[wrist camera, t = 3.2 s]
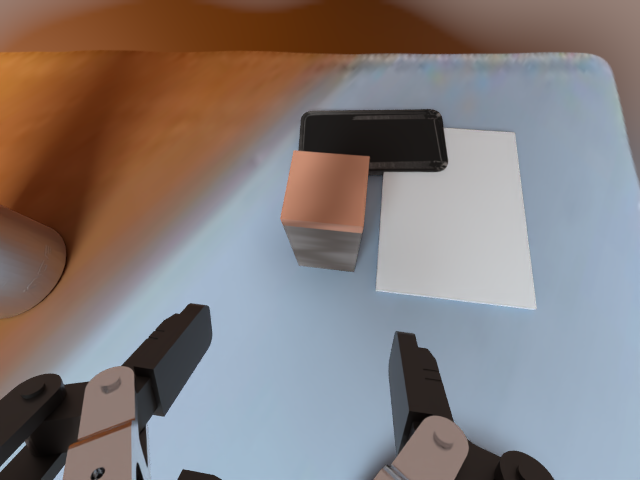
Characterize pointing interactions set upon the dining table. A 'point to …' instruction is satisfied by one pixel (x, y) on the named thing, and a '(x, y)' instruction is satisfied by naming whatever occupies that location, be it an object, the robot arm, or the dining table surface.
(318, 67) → the dining table surface
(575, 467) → the dining table surface
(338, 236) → the block
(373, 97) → the dining table surface
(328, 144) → the phone
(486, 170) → the mat
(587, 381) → the dining table surface
